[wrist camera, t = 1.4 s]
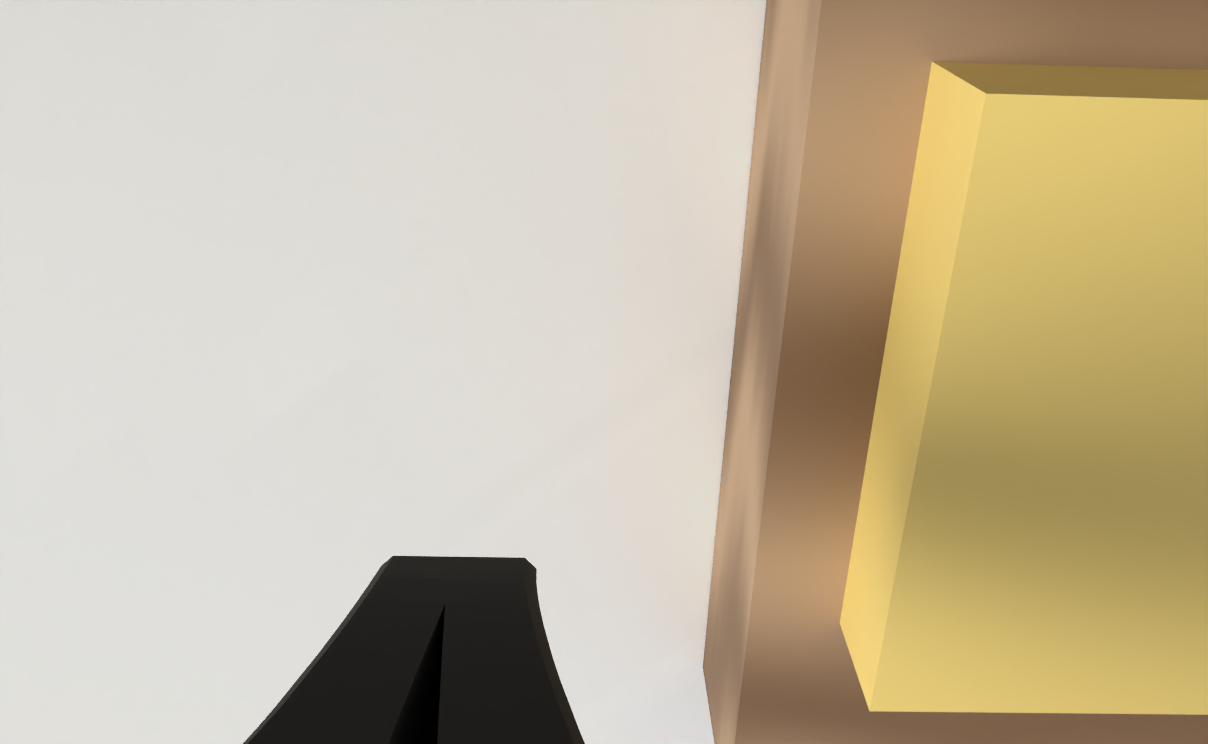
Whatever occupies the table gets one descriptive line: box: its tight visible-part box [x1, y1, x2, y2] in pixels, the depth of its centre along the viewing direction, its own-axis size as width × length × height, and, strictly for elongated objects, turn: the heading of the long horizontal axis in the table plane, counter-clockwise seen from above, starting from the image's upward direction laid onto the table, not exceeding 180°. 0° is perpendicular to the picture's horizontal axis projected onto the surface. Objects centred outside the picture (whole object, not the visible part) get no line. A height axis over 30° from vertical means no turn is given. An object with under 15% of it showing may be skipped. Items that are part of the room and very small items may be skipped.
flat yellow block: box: [840, 62, 1208, 715], centre depth 15 cm, size 9×6×2 cm, turn 178°
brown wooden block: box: [703, 0, 1208, 744], centre depth 17 cm, size 18×11×4 cm, turn 178°
